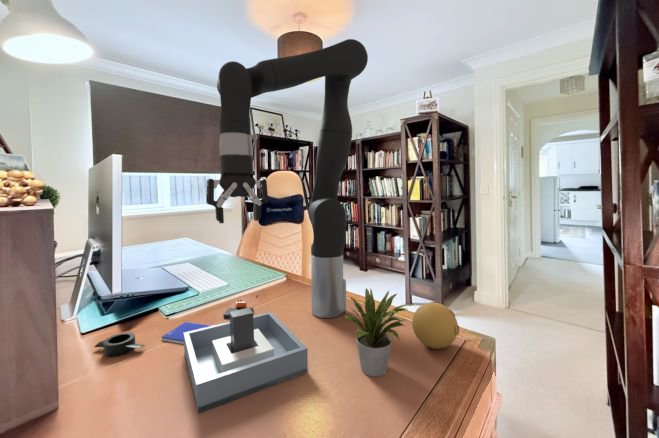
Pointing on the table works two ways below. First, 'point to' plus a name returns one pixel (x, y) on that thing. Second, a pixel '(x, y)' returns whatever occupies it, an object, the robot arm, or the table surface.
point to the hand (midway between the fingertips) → (239, 221)
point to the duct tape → (119, 344)
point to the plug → (241, 330)
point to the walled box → (241, 361)
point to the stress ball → (435, 325)
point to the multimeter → (238, 305)
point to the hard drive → (181, 332)
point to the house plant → (375, 333)
